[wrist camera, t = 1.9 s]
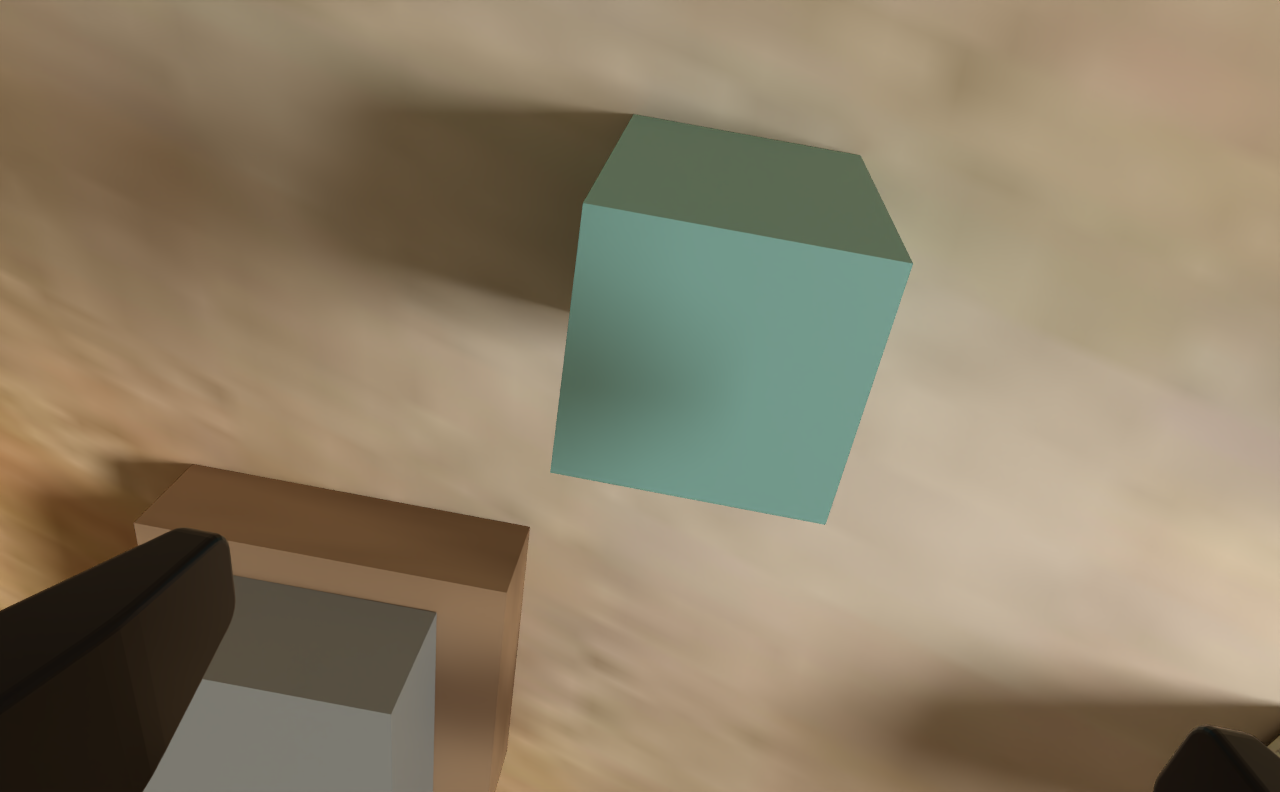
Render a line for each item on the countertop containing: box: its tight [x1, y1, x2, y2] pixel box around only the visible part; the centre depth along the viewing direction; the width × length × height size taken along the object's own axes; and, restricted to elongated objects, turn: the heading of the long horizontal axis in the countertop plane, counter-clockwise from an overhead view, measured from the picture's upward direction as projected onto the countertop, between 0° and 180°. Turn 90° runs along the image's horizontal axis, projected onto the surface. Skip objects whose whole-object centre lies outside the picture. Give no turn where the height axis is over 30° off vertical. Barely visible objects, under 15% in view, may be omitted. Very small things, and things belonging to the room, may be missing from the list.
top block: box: [143, 575, 437, 792], centre depth 21 cm, size 7×7×3 cm
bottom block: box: [134, 464, 530, 792], centre depth 23 cm, size 9×9×3 cm
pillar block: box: [550, 114, 913, 525], centre depth 15 cm, size 4×4×6 cm
